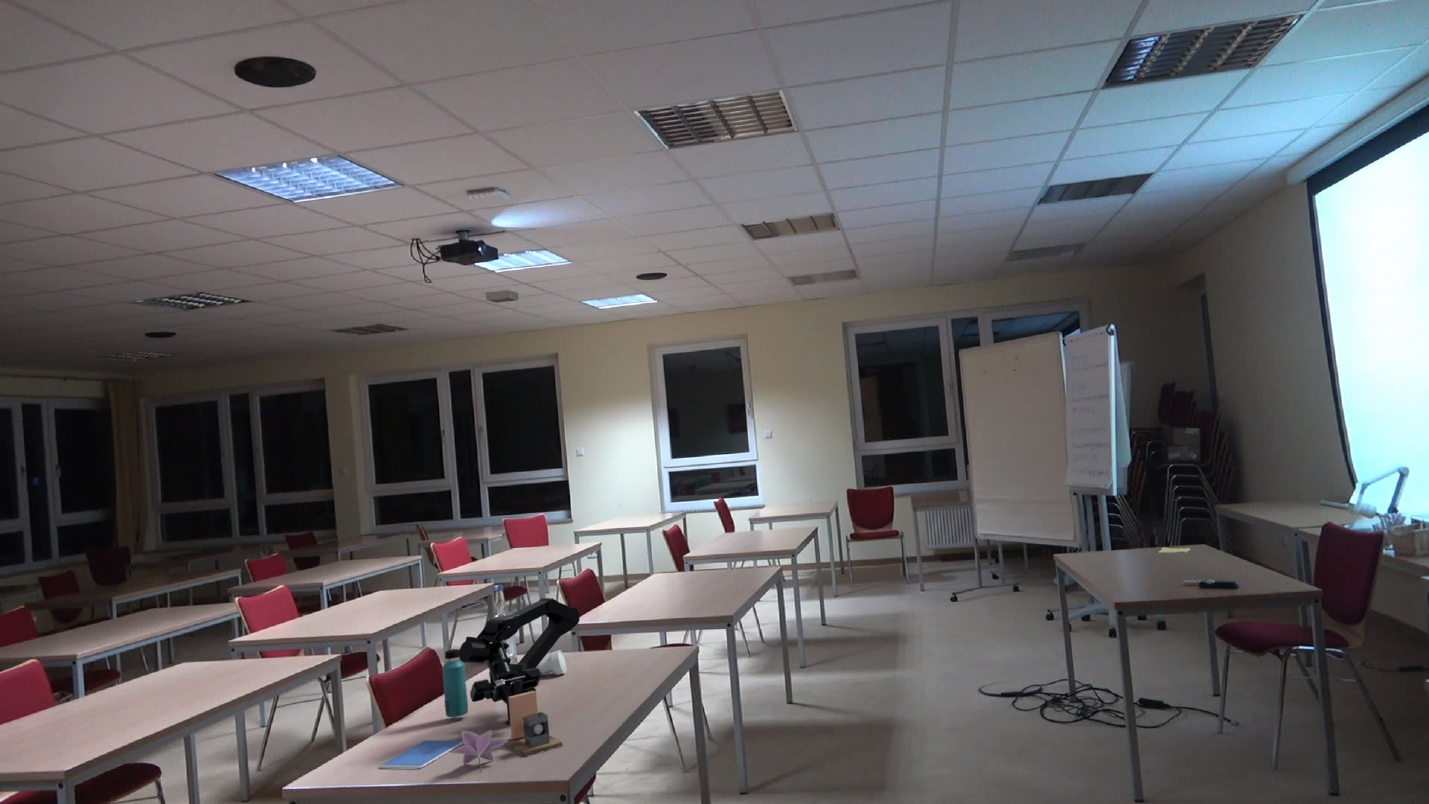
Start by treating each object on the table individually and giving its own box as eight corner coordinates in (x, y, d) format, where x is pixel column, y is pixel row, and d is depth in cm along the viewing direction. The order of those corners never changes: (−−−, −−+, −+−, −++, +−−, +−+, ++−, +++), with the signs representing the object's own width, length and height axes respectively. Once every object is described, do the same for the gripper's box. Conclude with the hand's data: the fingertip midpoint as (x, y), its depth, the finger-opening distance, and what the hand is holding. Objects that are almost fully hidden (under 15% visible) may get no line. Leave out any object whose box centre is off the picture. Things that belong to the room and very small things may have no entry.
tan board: (504, 744, 227) (504, 740, 227) (540, 734, 232) (540, 730, 232) (524, 756, 215) (524, 752, 215) (562, 746, 221) (562, 742, 221)
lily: (516, 765, 212) (509, 726, 217) (492, 762, 202) (485, 721, 207) (472, 783, 213) (466, 743, 218) (446, 781, 203) (440, 739, 208)
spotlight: (563, 673, 293) (558, 649, 295) (531, 683, 294) (526, 659, 296) (569, 672, 301) (564, 649, 303) (538, 681, 301) (532, 658, 303)
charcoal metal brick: (525, 744, 221) (522, 716, 222) (543, 739, 224) (541, 711, 225) (531, 748, 218) (528, 719, 219) (549, 743, 221) (547, 714, 221)
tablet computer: (425, 744, 235) (424, 739, 235) (465, 744, 231) (465, 739, 231) (377, 771, 216) (377, 765, 216) (421, 771, 213) (421, 766, 213)
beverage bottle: (473, 716, 256) (468, 647, 257) (458, 723, 250) (453, 652, 251) (456, 715, 259) (451, 647, 260) (440, 722, 253) (435, 652, 254)
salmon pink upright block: (511, 738, 226) (508, 696, 227) (536, 731, 230) (533, 690, 231) (526, 746, 218) (523, 704, 219) (552, 739, 222) (549, 697, 223)
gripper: (523, 672, 251) (542, 719, 241) (459, 687, 240) (476, 737, 231) (532, 649, 245) (551, 696, 235) (467, 663, 234) (484, 713, 225)
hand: (516, 711), depth 232 cm, fingers closed
